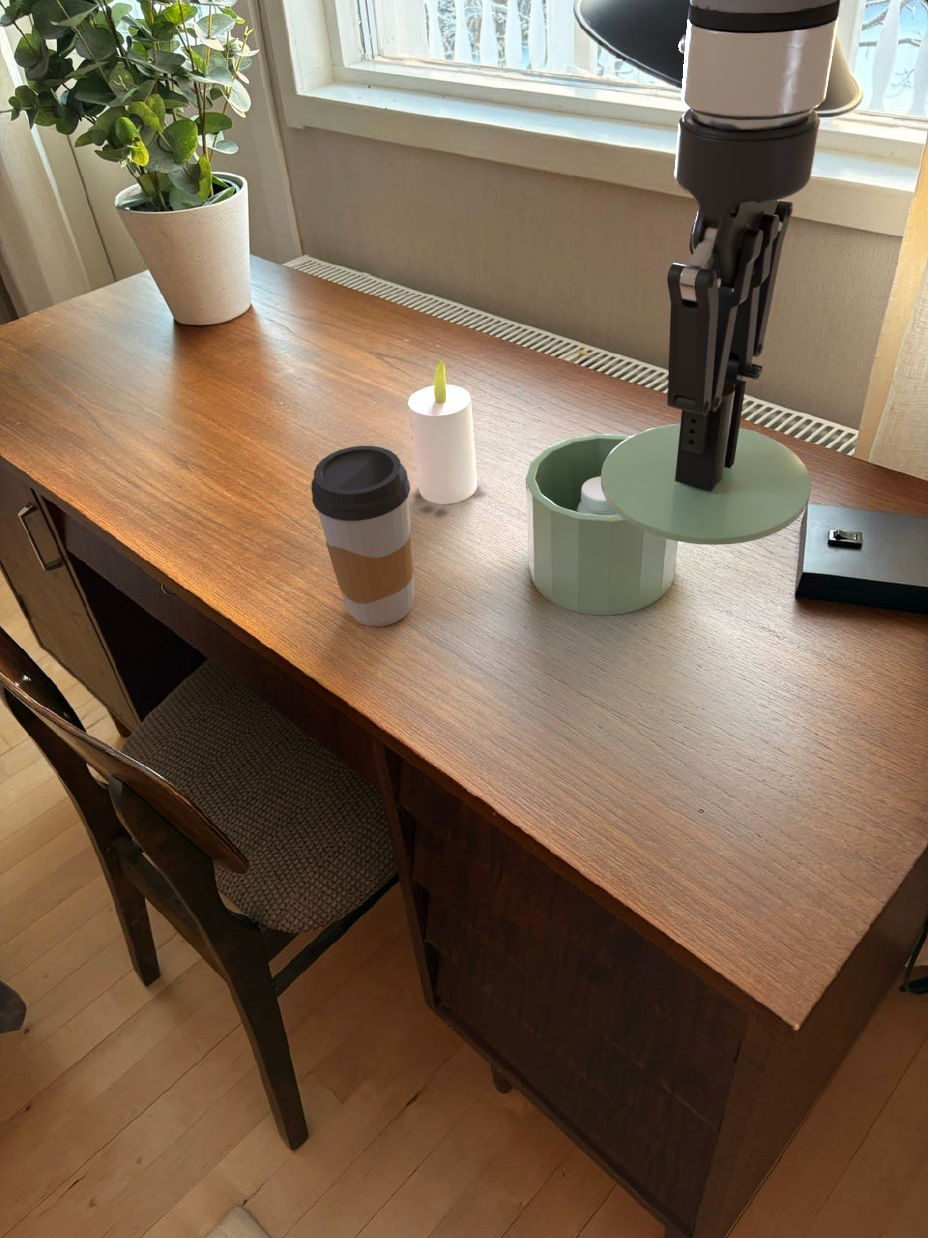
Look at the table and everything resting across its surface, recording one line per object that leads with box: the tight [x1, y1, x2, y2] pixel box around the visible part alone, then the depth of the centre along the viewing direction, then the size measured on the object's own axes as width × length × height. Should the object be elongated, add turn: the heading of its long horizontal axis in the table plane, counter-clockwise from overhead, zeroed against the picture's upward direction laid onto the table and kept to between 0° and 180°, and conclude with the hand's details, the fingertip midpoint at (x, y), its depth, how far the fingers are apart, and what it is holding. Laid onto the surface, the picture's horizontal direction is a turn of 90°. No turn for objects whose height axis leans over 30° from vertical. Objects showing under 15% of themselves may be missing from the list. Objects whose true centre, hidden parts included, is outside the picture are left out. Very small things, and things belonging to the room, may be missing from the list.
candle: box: [407, 359, 478, 505], centre depth 97 cm, size 6×6×15 cm
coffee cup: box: [310, 445, 415, 627], centre depth 83 cm, size 8×8×15 cm
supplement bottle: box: [577, 477, 618, 516], centre depth 87 cm, size 5×5×8 cm
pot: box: [525, 433, 679, 616], centre depth 86 cm, size 14×14×10 cm
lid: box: [601, 380, 812, 546], centre depth 65 cm, size 15×15×8 cm
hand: (704, 471), depth 67 cm, fingers closed on lid, 3 cm apart
